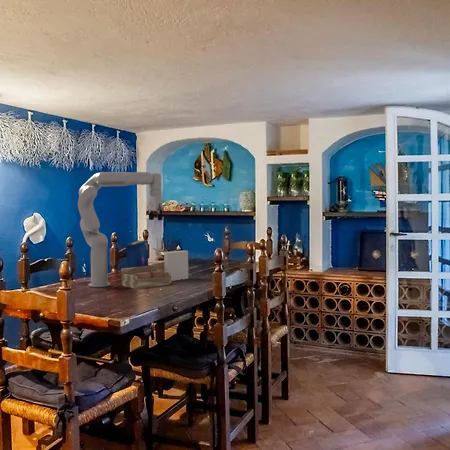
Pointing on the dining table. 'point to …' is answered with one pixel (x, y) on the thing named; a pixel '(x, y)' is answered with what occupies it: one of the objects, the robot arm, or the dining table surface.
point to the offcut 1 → (143, 275)
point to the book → (137, 254)
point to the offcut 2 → (157, 274)
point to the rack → (133, 282)
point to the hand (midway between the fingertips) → (155, 220)
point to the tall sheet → (176, 264)
